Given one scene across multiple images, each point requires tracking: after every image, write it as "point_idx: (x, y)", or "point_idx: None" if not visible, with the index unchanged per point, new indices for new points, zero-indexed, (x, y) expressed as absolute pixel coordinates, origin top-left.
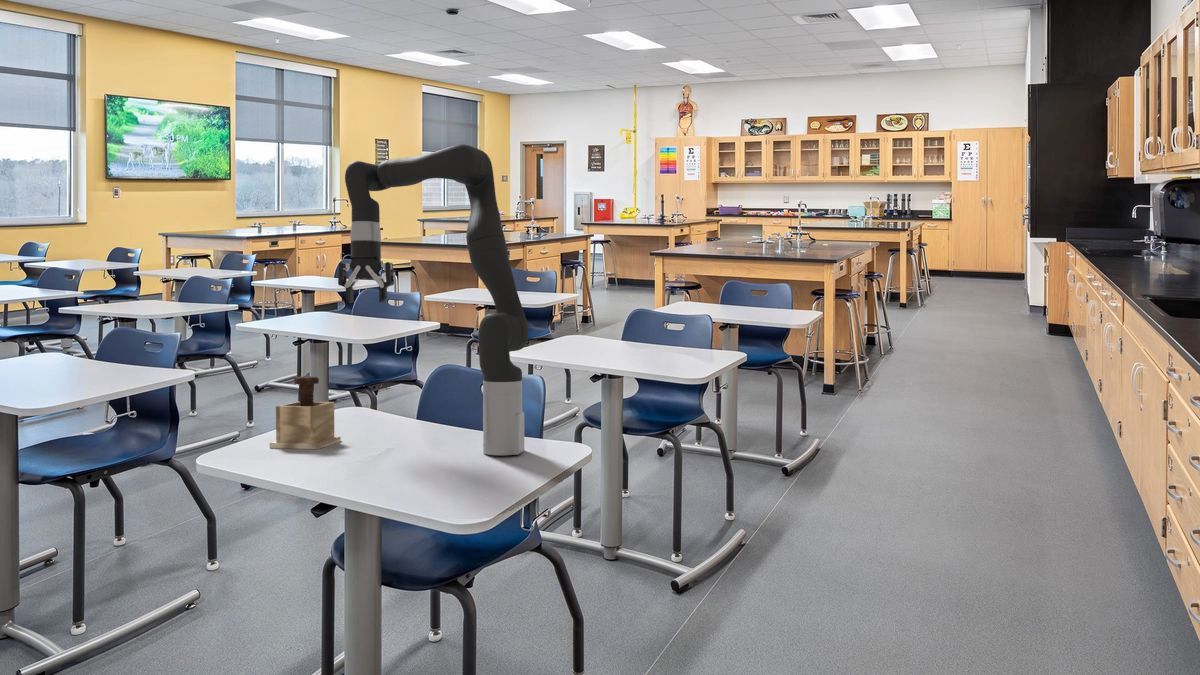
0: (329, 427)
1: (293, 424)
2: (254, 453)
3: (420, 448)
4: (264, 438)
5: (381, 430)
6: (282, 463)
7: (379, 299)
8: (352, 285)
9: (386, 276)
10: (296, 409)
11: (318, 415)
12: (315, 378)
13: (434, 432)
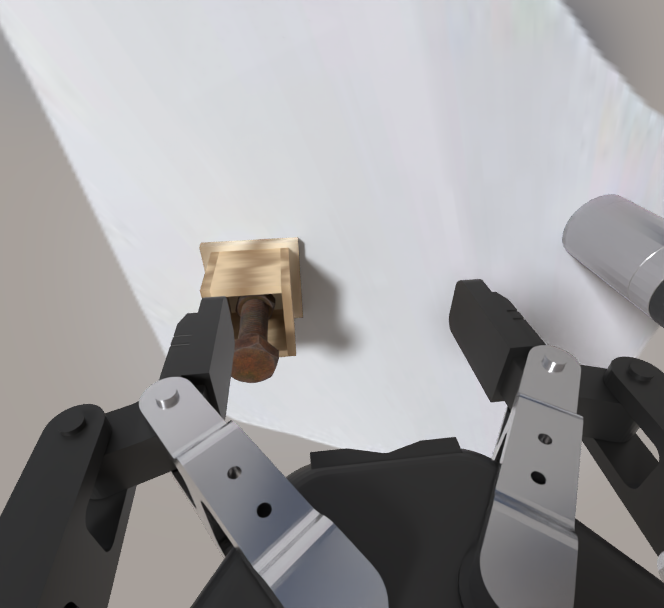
0: (290, 277)
1: None
2: None
3: (460, 276)
4: (118, 230)
5: (310, 47)
6: (313, 396)
7: (456, 337)
8: (199, 408)
9: (624, 495)
10: None
11: (294, 331)
12: (276, 365)
13: (458, 65)
